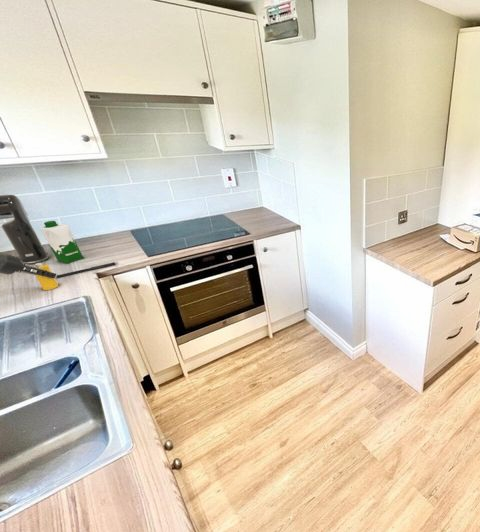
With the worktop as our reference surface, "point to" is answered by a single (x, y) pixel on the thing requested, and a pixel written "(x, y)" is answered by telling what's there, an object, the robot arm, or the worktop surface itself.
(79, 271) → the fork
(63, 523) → the worktop surface
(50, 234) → the milk carton
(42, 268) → the mustard bottle
